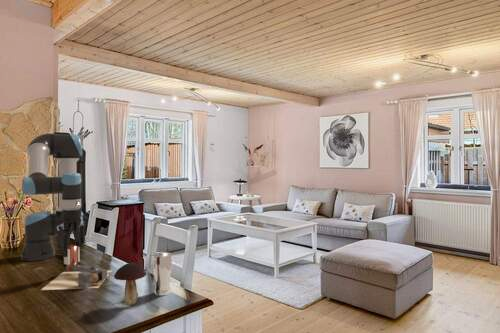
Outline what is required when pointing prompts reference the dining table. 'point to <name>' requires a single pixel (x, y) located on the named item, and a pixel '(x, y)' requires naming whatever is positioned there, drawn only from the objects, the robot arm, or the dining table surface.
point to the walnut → (94, 277)
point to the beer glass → (162, 273)
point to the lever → (74, 266)
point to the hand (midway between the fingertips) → (71, 262)
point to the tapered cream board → (74, 281)
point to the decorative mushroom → (130, 280)
